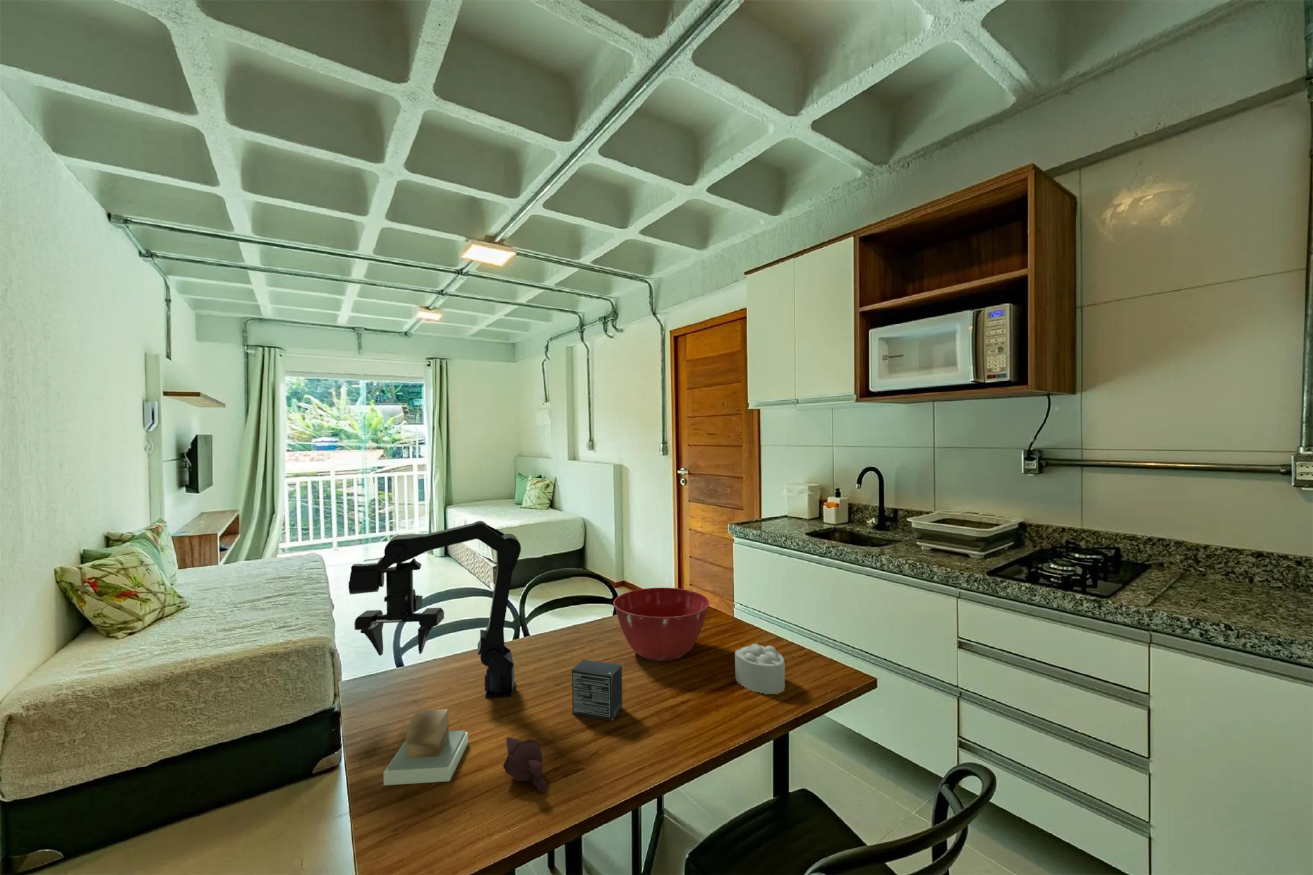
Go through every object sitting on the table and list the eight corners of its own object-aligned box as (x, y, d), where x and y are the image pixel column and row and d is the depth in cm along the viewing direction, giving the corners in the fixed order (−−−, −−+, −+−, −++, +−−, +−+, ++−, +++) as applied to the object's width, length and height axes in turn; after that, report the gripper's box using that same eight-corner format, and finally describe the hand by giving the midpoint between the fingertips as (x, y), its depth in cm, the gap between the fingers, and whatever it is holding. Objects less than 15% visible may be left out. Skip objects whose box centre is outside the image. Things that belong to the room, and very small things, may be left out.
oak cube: (448, 737, 105) (448, 708, 105) (438, 756, 100) (438, 725, 99) (418, 739, 105) (418, 710, 105) (406, 758, 99) (406, 727, 99)
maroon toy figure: (485, 734, 101) (518, 780, 89) (520, 712, 105) (556, 753, 94) (493, 763, 102) (527, 811, 91) (527, 740, 107) (563, 783, 95)
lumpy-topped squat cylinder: (758, 668, 141) (757, 637, 141) (795, 687, 131) (794, 653, 131) (730, 679, 136) (729, 646, 136) (766, 699, 125) (765, 664, 125)
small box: (624, 707, 122) (623, 663, 122) (612, 722, 116) (612, 675, 116) (584, 700, 126) (583, 657, 126) (571, 714, 119) (570, 669, 119)
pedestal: (468, 742, 109) (467, 728, 109) (449, 781, 97) (449, 765, 97) (409, 746, 108) (409, 732, 108) (383, 785, 96) (383, 769, 96)
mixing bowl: (651, 627, 173) (651, 581, 173) (727, 646, 156) (726, 595, 156) (594, 657, 150) (593, 604, 150) (675, 683, 133) (674, 624, 133)
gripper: (450, 578, 132) (451, 639, 132) (375, 581, 130) (376, 642, 130) (435, 591, 121) (436, 657, 121) (352, 594, 119) (353, 661, 119)
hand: (401, 654), depth 123 cm, fingers open, 9 cm apart
